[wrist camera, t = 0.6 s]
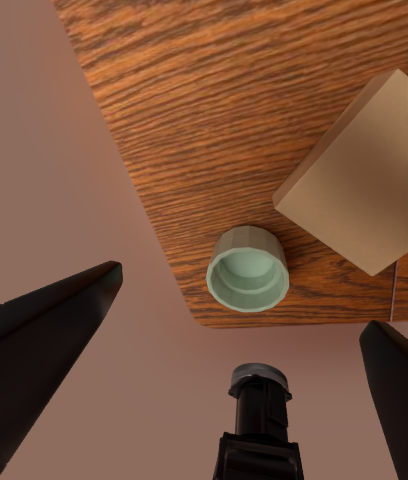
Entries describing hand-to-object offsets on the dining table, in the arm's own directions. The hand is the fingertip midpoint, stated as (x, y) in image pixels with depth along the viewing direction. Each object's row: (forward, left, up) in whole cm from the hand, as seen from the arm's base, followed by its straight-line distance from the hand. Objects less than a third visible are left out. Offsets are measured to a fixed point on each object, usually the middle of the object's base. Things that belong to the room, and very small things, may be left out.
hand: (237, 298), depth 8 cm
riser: (+6, -7, -14) cm, 16 cm away
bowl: (-5, -4, -14) cm, 15 cm away
